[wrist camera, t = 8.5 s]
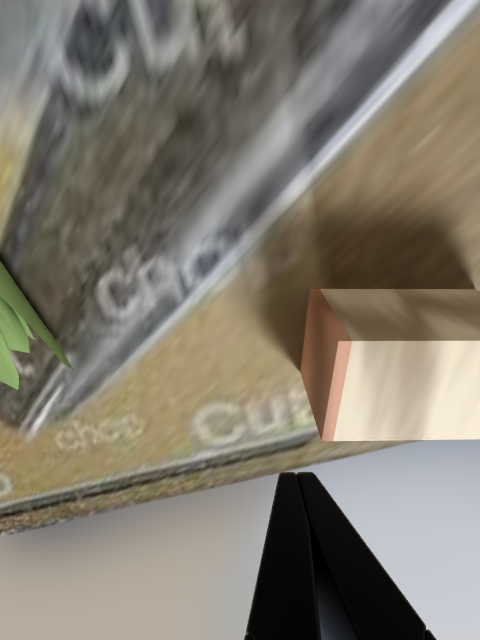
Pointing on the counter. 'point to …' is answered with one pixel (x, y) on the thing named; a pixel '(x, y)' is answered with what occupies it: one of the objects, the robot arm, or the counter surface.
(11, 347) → the edible corn
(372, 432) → the marked block
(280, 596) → the robot arm
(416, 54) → the counter surface
